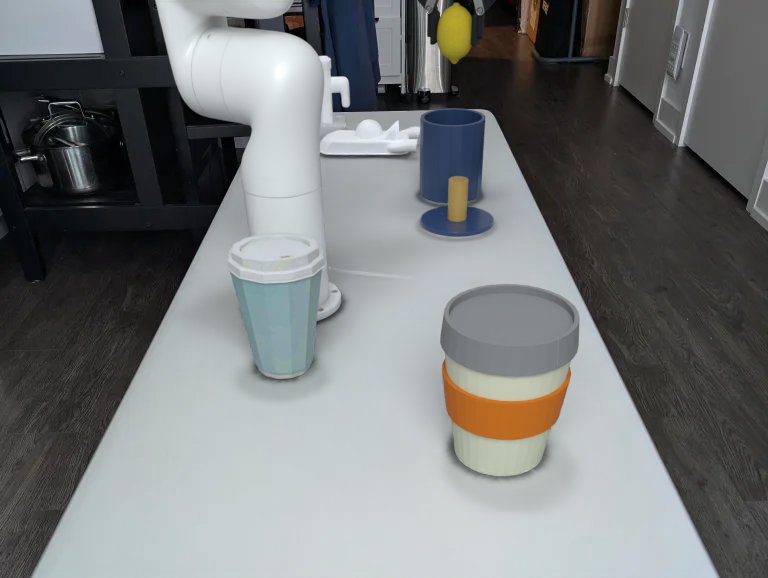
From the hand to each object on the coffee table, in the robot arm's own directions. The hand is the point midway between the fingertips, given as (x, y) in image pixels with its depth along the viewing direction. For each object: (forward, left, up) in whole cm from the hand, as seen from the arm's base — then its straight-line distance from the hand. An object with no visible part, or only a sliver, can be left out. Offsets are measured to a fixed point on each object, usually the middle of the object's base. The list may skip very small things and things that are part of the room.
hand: (454, 42), depth 120 cm
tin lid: (-11, -4, -23) cm, 26 cm away
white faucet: (+27, +31, -23) cm, 47 cm away
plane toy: (+22, +21, -23) cm, 38 cm away
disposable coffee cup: (-58, +6, -23) cm, 63 cm away
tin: (+2, 0, -23) cm, 23 cm away
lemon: (0, 0, -3) cm, 3 cm away
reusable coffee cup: (-68, -21, -23) cm, 75 cm away
